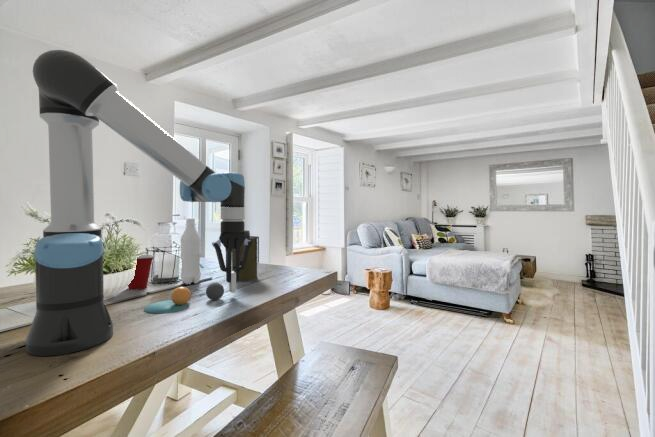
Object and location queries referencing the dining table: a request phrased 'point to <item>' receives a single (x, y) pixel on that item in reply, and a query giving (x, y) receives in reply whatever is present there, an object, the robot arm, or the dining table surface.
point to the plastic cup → (141, 272)
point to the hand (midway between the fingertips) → (232, 291)
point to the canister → (248, 260)
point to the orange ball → (180, 295)
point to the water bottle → (190, 253)
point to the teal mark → (164, 307)
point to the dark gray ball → (214, 291)
